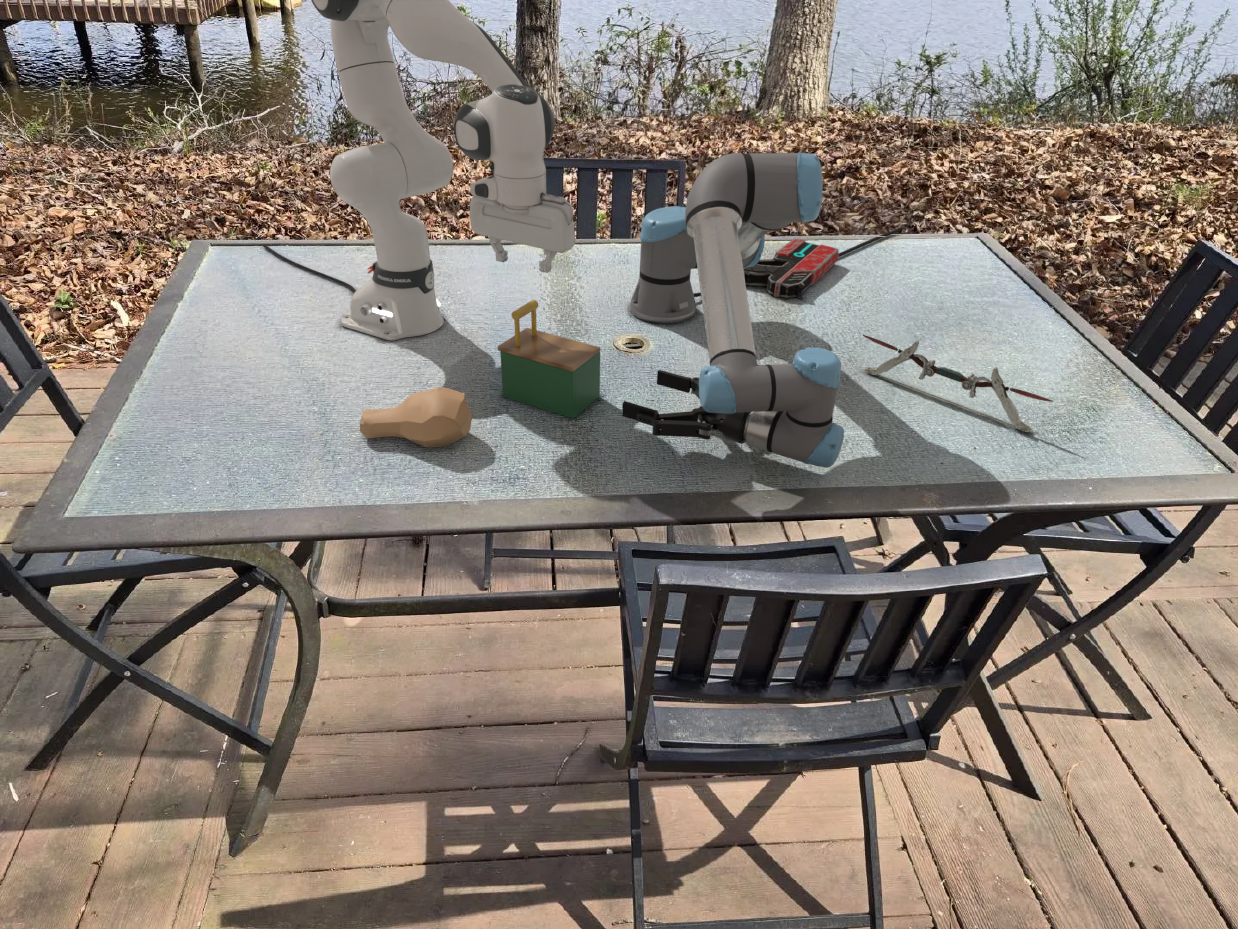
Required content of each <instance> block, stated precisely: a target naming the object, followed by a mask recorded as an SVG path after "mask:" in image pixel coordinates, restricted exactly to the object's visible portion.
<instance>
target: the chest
mask: <svg viewBox="0 0 1238 929" xmlns="http://www.w3.org/2000/svg"><path fill="white" fill-rule="evenodd" d="M499 355H500V372H501V386H502V387H501V388H502V389H501V391H502V398H506V399H510V400H513V401H516V402H519V403H523V404H526V405H528V406H531V407H536V408H538V409H542V410H545V411H548V412H552V413H554V414H557V415H560V416H564V417H567V418H570V419H575V418H576V417H577V416H578V415H580V414H581V413H582V412H583V411H585V409H587V408H588V407H589V406H590V405H591V404H593V403H594V402H595V401H597V399H599V398H600V396H601V394H600V393H601V351H600V352H599V353H597V354H596V355H595V356H593V357H592V358H591V359H589V360H588V361H587V362H586V363H584V364H583V365H582V366H580V367H579V368H578V369H576V370H575V371H574V372H571V371H568V370H564V369H561V368H557V367H554V366H551V365H547V364H544V363H540V362H537V361H533V360H530V359H526V358H523V357H519V356H516V355H512V354H509V353H505V352H502V351H499Z"/></svg>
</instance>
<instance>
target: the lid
mask: <svg viewBox="0 0 1238 929" xmlns="http://www.w3.org/2000/svg"><path fill="white" fill-rule="evenodd" d="M538 308H539V302H538V301H537V300H536V299H531V300H530V301H529V302H527V303H525V304H523V305H522V306H520V307H519V308H517V309H515V310H514V311H512V312H511V318H512V319H513V320H514V321H513V322H514V335H513V336H511V337H510V338H508V339H506V340H505V341H504V342H502V343H500V344H499V345H498V346H497V351H499V352H500V351H502V352H505V353H509V354H512V355H516V356H519V357H523V358H526V359H530V360H533V361H537V362H540V363H544V364H547V365H551V366H554V367H557V368H561V369H564V370H568V371H571V372H574V371H575V370H576V369H578V368H579V367H580V366H582V365H583V364H584V363H586V362H587V361H588V360H589V359H591V358H592V357H593V356H595V355H596V354H597V353H599V352H600V353H601V347H600V346H597V345H593V344H589V343H585V342H581V341H579V340H574V339H570V338H567V337H563V336H560V335H556V334H553V333H549V332H545V331H541V330H538V329H537V328H538V327H537V309H538ZM528 314H530V319H531V328H530V327H526V328H524V329H522V330H521V325H520V320H521V319H522V318H523V317H526V316H527V315H528Z"/></svg>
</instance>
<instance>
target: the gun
mask: <svg viewBox="0 0 1238 929" xmlns="http://www.w3.org/2000/svg"><path fill="white" fill-rule="evenodd" d="M839 253H840V252H839V248H837V247H833V246H829V245H824V244H815V243H811V242H807V241H806V240H805V239H801V238H793V239H791V240H790V241H789V242H787V243H786V244H784V245H783V246H782V247H781V248H779V249H778V250H776V251H775V254H774V255H773V258H769V259H766V258H765V259H760V260H759V262H758V263H757V264H756V265H755V266H753V267H747V268H744V269H743V271H744V277H745V284H746V286H765V287H766V291H767V293H768V294H771V295H773V296H774V297H776V298H779V297H782V298H786V299H788V298H794V297H795V298H799V299H803V297H804V293H803V292H804V291H805V290H807V289H808V288H809V287H810V286H813V285H814V284H815V283H816V282H818V281H819V280H820V279H821V278H822V277H824V276H825V274H826V273H827V272H828V271H829V270H830V269H831V268H832V267H833V266H834V265H836V263H837V261H838V258H839V257H838V256H839Z"/></svg>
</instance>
